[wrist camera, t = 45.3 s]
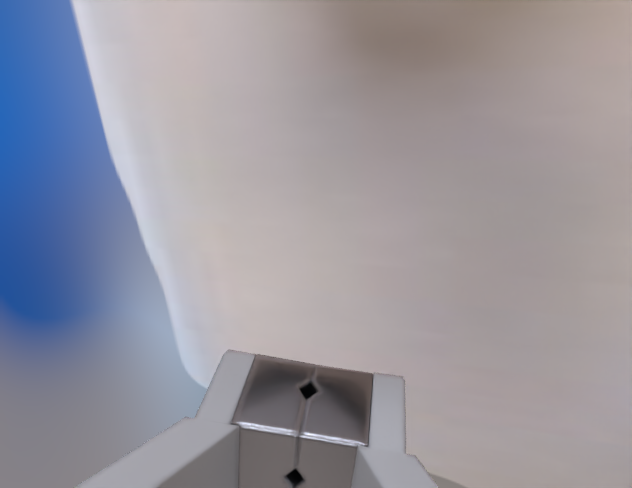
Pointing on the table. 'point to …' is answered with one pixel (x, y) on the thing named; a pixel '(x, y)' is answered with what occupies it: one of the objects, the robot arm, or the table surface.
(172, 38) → the table surface
